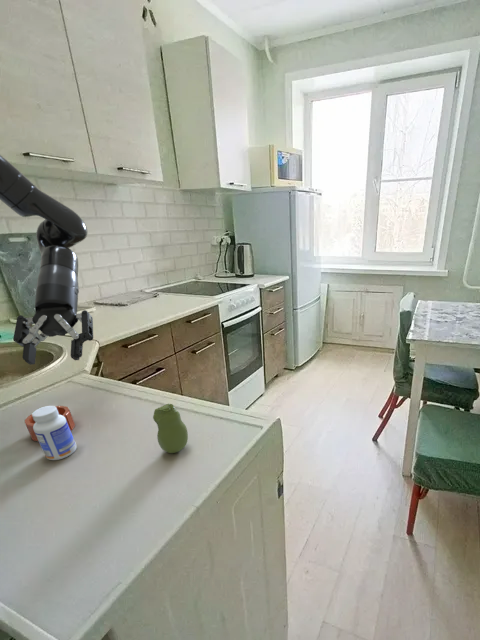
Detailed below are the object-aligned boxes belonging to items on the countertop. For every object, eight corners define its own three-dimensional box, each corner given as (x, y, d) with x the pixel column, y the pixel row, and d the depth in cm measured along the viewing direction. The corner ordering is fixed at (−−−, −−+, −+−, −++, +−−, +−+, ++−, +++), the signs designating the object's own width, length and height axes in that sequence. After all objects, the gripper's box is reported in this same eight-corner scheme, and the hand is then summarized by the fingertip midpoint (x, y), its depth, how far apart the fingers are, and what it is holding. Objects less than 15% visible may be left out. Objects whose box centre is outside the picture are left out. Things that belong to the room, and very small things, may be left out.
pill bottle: (79, 442, 73) (64, 401, 69) (74, 457, 69) (57, 414, 64) (50, 448, 72) (32, 406, 67) (42, 464, 67) (23, 420, 63)
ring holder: (22, 438, 76) (15, 422, 74) (56, 418, 82) (50, 403, 81) (50, 444, 73) (44, 428, 71) (83, 423, 80) (77, 408, 78)
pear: (170, 462, 66) (158, 416, 61) (155, 451, 69) (144, 407, 64) (195, 448, 69) (186, 404, 65) (180, 438, 72) (171, 395, 68)
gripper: (10, 284, 72) (1, 357, 66) (84, 279, 73) (81, 349, 68) (33, 304, 79) (26, 371, 74) (99, 299, 80) (97, 364, 75)
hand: (52, 360), depth 71 cm, fingers open, 8 cm apart
